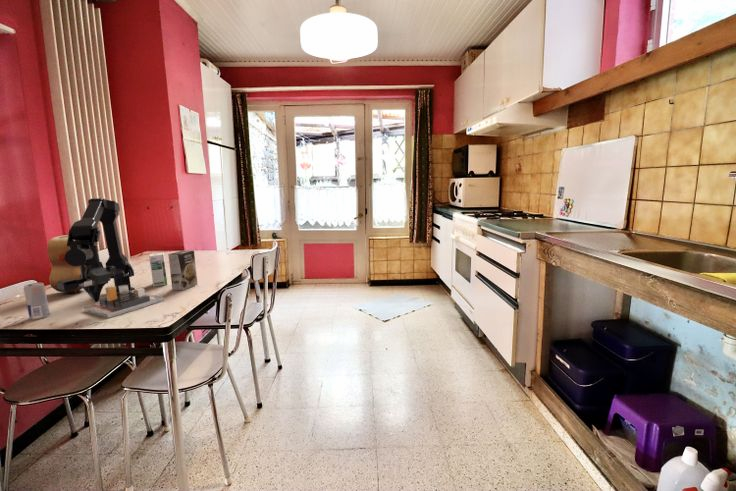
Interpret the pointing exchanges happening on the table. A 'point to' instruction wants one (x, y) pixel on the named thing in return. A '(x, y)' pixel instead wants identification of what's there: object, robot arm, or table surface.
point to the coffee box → (182, 270)
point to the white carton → (36, 301)
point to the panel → (111, 314)
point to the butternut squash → (61, 263)
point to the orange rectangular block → (111, 293)
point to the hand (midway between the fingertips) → (96, 302)
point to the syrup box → (158, 269)
